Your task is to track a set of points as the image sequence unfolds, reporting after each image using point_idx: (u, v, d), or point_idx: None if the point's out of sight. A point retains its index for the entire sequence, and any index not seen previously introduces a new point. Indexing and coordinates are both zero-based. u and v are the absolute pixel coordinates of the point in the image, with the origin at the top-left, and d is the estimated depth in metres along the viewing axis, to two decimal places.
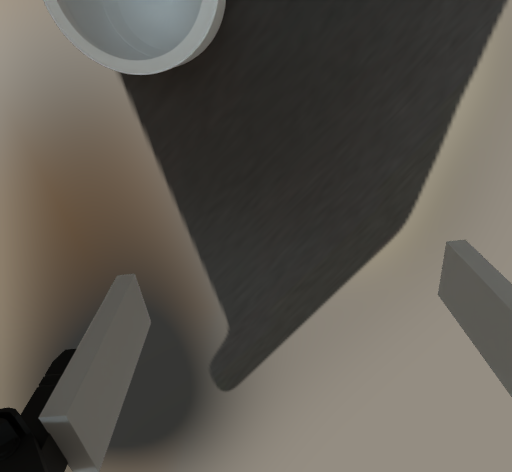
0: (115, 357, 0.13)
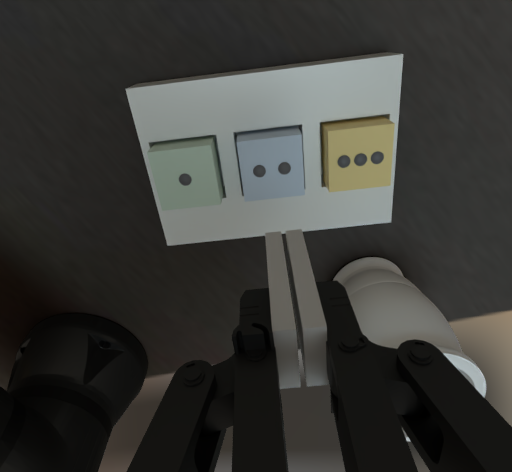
0: None
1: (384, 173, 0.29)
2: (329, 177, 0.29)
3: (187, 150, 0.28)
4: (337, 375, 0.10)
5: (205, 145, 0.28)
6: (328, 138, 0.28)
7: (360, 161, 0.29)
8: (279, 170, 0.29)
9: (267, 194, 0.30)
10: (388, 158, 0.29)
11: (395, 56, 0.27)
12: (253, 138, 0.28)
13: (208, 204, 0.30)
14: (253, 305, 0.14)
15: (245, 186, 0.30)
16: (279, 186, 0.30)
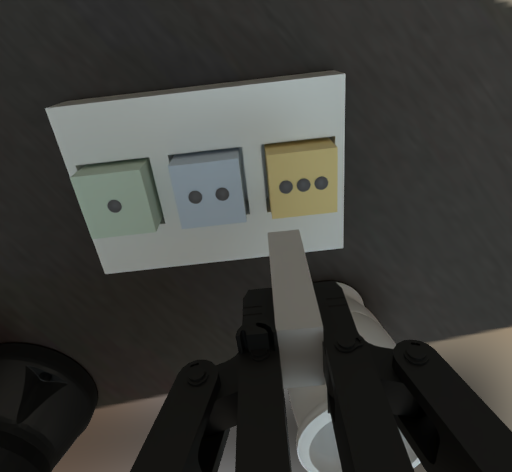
0: None
1: (330, 199, 0.27)
2: (271, 203, 0.27)
3: (114, 175, 0.26)
4: (333, 376, 0.10)
5: (134, 170, 0.26)
6: (267, 162, 0.26)
7: (303, 186, 0.27)
8: (217, 196, 0.27)
9: (206, 221, 0.28)
10: (333, 183, 0.27)
11: (337, 76, 0.25)
12: (187, 162, 0.26)
13: (142, 232, 0.28)
14: (256, 305, 0.14)
15: (181, 213, 0.27)
16: (218, 213, 0.28)
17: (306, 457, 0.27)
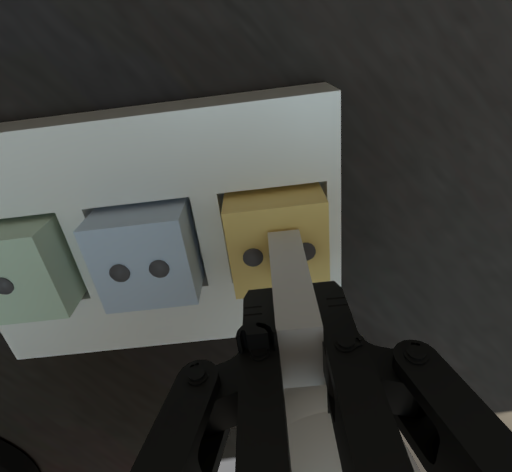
0: None
1: (319, 273, 0.19)
2: (233, 279, 0.19)
3: None
4: (333, 375, 0.10)
5: (24, 237, 0.17)
6: (224, 224, 0.17)
7: None
8: (151, 272, 0.18)
9: (139, 304, 0.19)
10: (323, 252, 0.18)
11: (328, 94, 0.16)
12: (104, 224, 0.17)
13: (49, 318, 0.20)
14: (256, 305, 0.14)
15: (102, 293, 0.19)
16: (156, 293, 0.19)
17: None
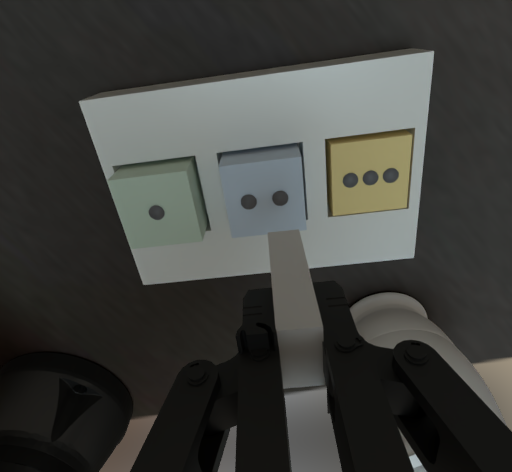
0: None
1: (399, 193, 0.24)
2: (333, 198, 0.25)
3: (157, 177, 0.22)
4: (333, 376, 0.10)
5: (179, 171, 0.22)
6: (331, 153, 0.23)
7: (370, 179, 0.24)
8: (274, 201, 0.23)
9: (259, 229, 0.24)
10: (404, 176, 0.24)
11: (423, 54, 0.21)
12: (240, 161, 0.22)
13: (187, 241, 0.25)
14: (256, 305, 0.14)
15: (232, 220, 0.24)
16: (274, 220, 0.24)
17: None
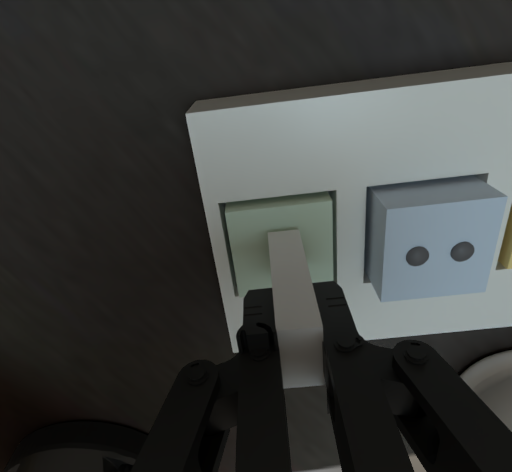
0: None
1: None
2: None
3: (292, 209, 0.17)
4: (333, 376, 0.10)
5: (322, 201, 0.17)
6: None
7: None
8: (453, 255, 0.16)
9: (422, 291, 0.17)
10: None
11: None
12: (413, 201, 0.16)
13: None
14: (256, 305, 0.14)
15: (387, 279, 0.17)
16: (445, 279, 0.17)
17: None
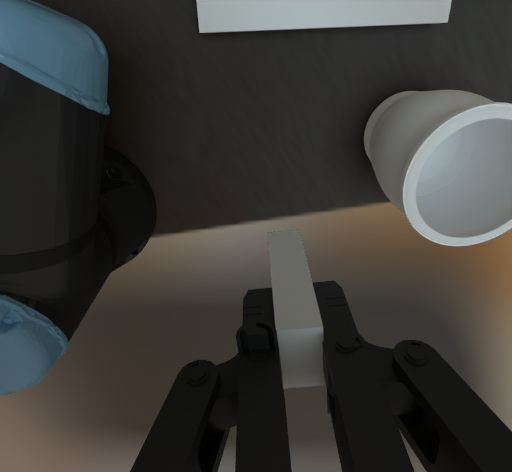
0: None
1: None
2: None
3: None
4: (333, 375, 0.10)
5: None
6: None
7: None
8: None
9: None
10: None
11: None
12: None
13: None
14: (256, 305, 0.14)
15: None
16: None
17: (411, 192, 0.26)
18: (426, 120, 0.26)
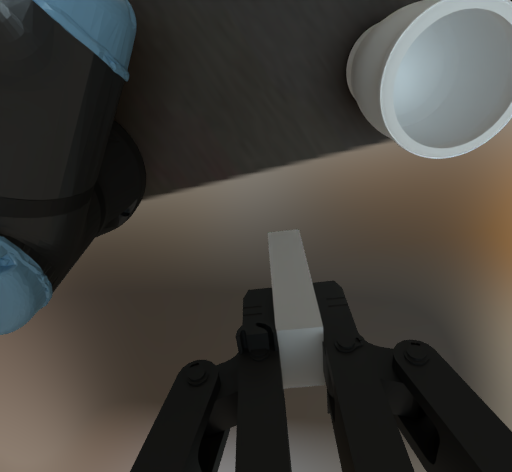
0: None
1: None
2: None
3: None
4: (333, 375, 0.10)
5: None
6: None
7: None
8: None
9: None
10: None
11: None
12: None
13: None
14: (256, 305, 0.14)
15: None
16: None
17: (389, 100, 0.25)
18: (399, 27, 0.26)
